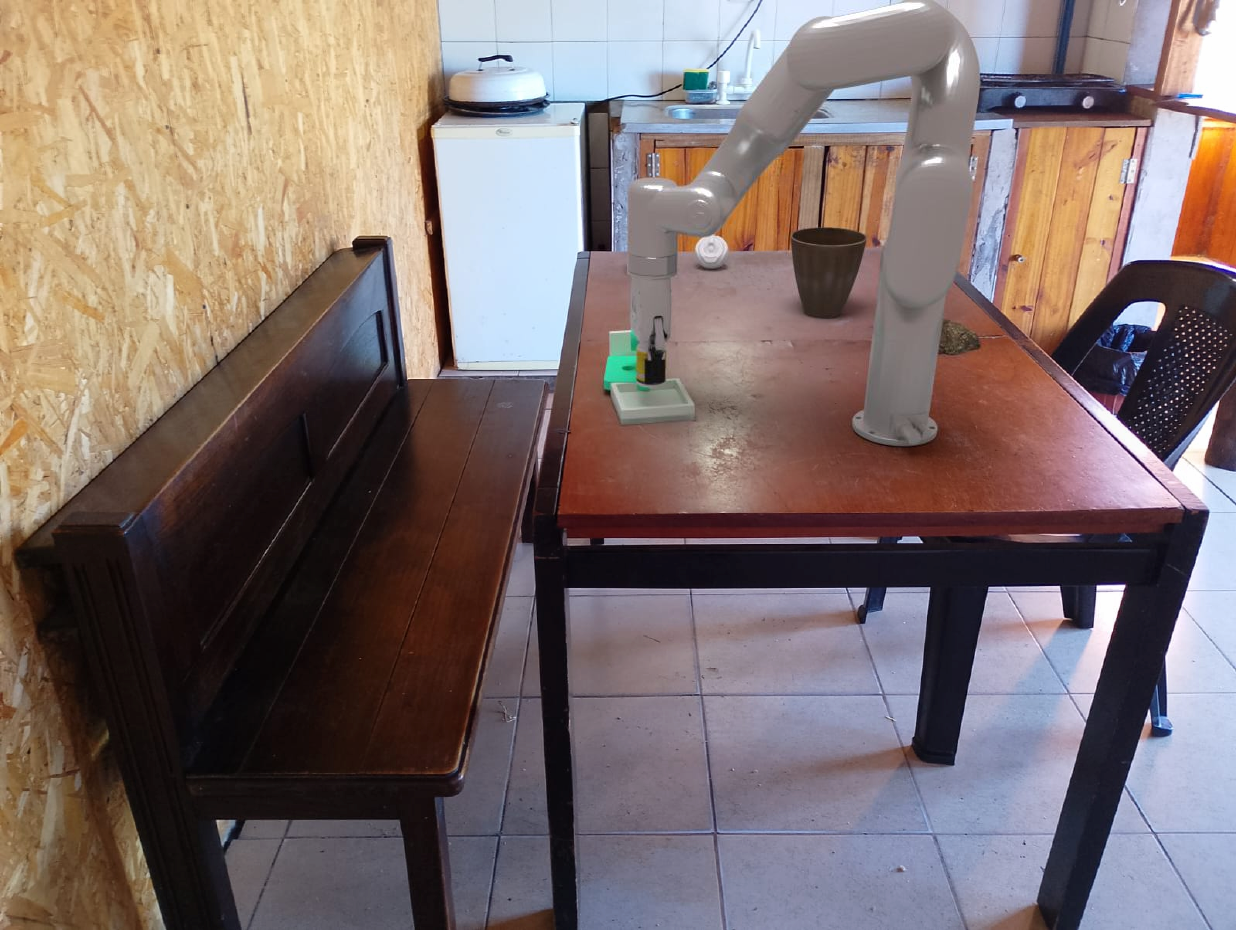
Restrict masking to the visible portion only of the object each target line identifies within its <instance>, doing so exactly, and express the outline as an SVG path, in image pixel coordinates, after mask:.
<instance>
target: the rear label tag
mask: <svg viewBox="0 0 1236 930" xmlns="http://www.w3.org/2000/svg"><path fill="white" fill-rule="evenodd" d="M608 332H609V333H608V335H609V336H608V340H609V341H608V342H609V343H608V344H609V349H608V350H609V356H637V351H631V329H630V330H615V331H613V330H611V331H608Z"/></svg>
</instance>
